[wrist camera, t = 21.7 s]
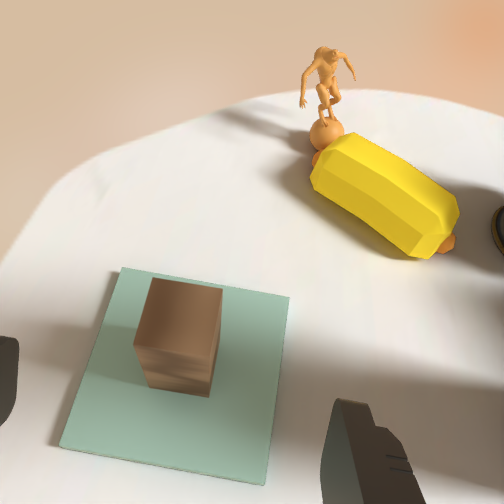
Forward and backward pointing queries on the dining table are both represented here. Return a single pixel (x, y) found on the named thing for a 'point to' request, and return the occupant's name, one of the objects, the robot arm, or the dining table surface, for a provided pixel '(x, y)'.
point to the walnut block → (179, 336)
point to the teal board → (178, 404)
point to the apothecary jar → (498, 228)
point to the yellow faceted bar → (387, 195)
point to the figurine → (325, 96)
